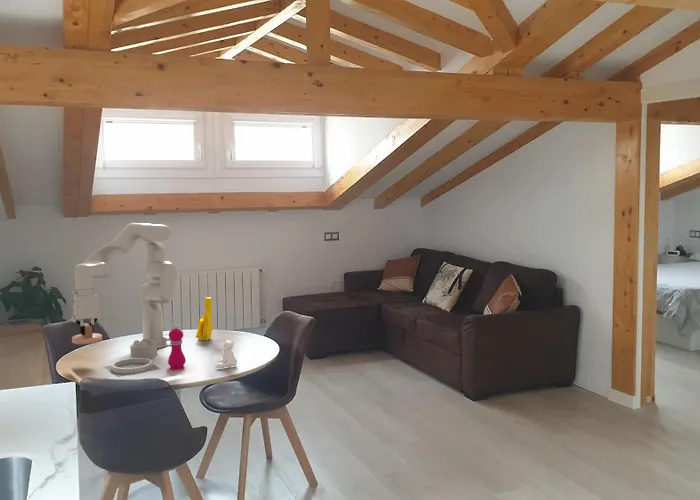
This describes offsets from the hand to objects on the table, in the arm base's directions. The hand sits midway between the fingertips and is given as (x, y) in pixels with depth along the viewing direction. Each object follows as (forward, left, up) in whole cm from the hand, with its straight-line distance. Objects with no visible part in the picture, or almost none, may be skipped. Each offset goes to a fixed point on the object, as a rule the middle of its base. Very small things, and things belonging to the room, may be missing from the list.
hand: (86, 333), depth 271 cm
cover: (0, 0, -3) cm, 3 cm away
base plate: (-13, +18, -15) cm, 27 cm away
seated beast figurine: (-48, +37, -15) cm, 63 cm away
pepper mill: (-28, +30, -15) cm, 44 cm away
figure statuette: (-61, -14, -15) cm, 65 cm away
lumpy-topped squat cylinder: (-24, +2, -15) cm, 29 cm away
